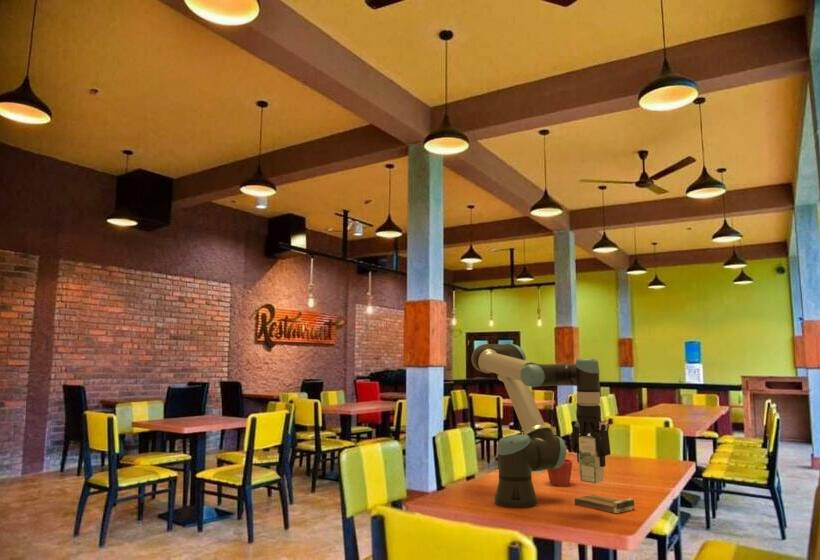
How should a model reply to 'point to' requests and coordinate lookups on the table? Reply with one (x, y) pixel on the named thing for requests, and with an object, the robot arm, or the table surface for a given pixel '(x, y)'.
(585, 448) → the syrup box
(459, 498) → the table surface
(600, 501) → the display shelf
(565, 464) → the flower pot
